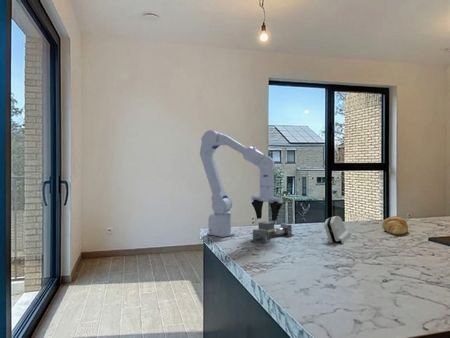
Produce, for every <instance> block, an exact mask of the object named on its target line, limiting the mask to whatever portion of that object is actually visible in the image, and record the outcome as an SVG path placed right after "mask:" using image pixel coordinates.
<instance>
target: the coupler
mask: <svg viewBox="0 0 450 338" xmlns="http://www.w3.org/2000/svg"><path fill="white" fill-rule="evenodd" d="M274 229H275V222H274V221H266V220H265V221H260V222H259V221H258V228H257V230H267V233H268V237H267V240H269V239H272V238H271V237H273V238H275V236H274ZM268 238H269V239H268Z"/></svg>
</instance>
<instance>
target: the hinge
mask: <svg viewBox="0 0 450 338" xmlns="http://www.w3.org/2000/svg"><path fill="white" fill-rule="evenodd" d="M324 229H325V233H326V236H327V239H328V242H329V244H330V243H334V242H339V241H340V242H341V245H344V244H345V243H346V242H347V241H348V240H349V239H350V238H351V237H352V235H351V232H350V231H348V230H347V229H346V226H345V224H344V222H343V219H342V217H341V216H339V215H335V216H331V217H329V218H327V219H325V222H324Z"/></svg>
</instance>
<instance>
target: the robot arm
mask: <svg viewBox="0 0 450 338" xmlns="http://www.w3.org/2000/svg"><path fill="white" fill-rule="evenodd" d="M200 141H201V143H200V144H201V145H200V148H199V150H200V151H199V156H200V159H201V162H202V165H203V168H204V172H205V174H206V178H207V181H208V184H209V187H210V191H211V197H210V198H211V202H212V203H211V209H212V211H213V212H212V213H211V214H209V216H208V220H207V221H208V227H207V228H208V230H207V231H208V232H207V233H206V234H207V235H210V236H215V237H222V238H224V237H228V236H233V235H236V232H232V212H231V209H232V207H233V202H232V200H231V198H229V195H228V194H227V192H226V191H225V189H224V185H223V183H222V180H221V176H220V173H219V170H218V167H217V165H216V160H215V158H214V154H215V152H216V150H217V149H218V148H219V147H220V146H228V147H229V148H231V149H233V150H235V151H236V152H238V153H241V155H242V157H243V159H244V160H246V161H248V163H250V164H253V165H254V166H256V167H258V169H259V195H251V198H250V199H251V200H250V201H252V202H251V205H252V207H253V209H254V211H255V215H256V219H257V220H259V219H262V215H263V213H262V212H263V205H264V202H267V203H269V206H270V210H271V222H274V221H277V219H278V217H279V216H278V215H279V213H280V210H281V207H282V206H283V203H284V198H283V197H278V196H274V195H275V194H274V192H275V191H274V189H275V187H274V185H275V184H274V183H275V182H274V180H275V178H274V177H275V175H274V173H275V172H274V168H275V160H274V159H273V158H272V157H271V156H267V153H265V152H261V151H260V150H258V149H257V146H256V147H255V146H247V147H246V146H245V145H243V144H241V142H238V141H236V140H235V139H233V138H232V137H230V136H228V135H226V134H224V133H221V132H219V131H215V130H211V129H209V130H206V131H205V132H204V134H203V135H202V136H201V138H200Z"/></svg>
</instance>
